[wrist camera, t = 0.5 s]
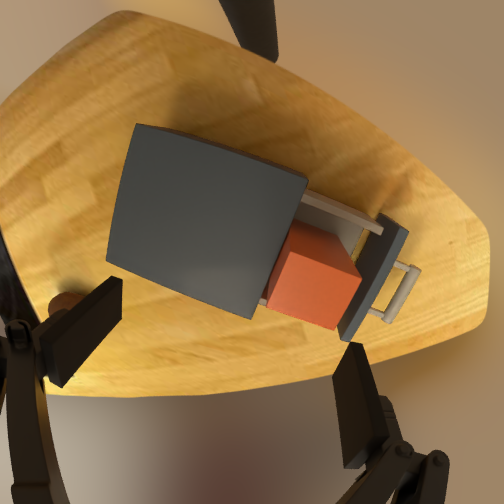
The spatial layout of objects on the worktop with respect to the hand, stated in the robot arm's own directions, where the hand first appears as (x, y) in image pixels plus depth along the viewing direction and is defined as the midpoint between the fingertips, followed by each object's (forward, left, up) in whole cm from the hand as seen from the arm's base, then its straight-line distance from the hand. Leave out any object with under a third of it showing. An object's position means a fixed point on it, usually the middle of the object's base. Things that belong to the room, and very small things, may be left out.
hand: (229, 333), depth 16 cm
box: (-1, +5, -19) cm, 20 cm away
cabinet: (-1, -6, -21) cm, 22 cm away
